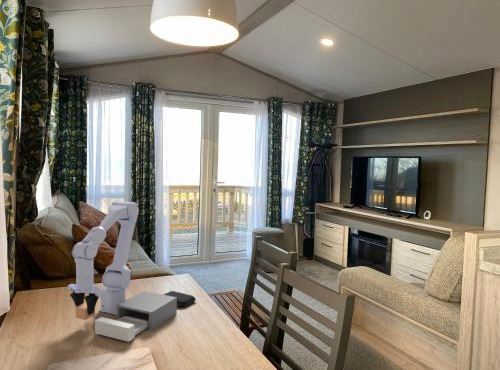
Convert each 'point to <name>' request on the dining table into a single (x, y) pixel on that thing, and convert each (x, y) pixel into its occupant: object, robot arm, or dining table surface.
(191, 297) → the carrying case or bag
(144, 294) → the housing
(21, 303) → the dining table surface
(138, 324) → the tray
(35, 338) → the dining table surface
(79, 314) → the block
